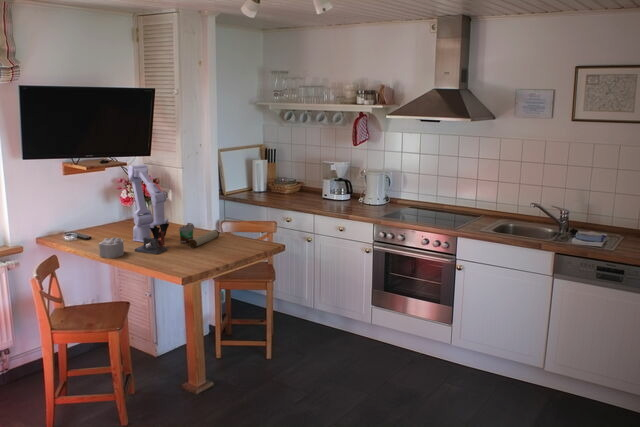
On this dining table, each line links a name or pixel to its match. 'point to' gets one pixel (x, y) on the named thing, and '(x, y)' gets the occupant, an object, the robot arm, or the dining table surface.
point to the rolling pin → (203, 238)
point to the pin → (159, 239)
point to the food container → (186, 233)
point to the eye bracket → (152, 249)
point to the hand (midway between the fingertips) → (159, 237)
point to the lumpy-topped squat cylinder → (111, 248)
